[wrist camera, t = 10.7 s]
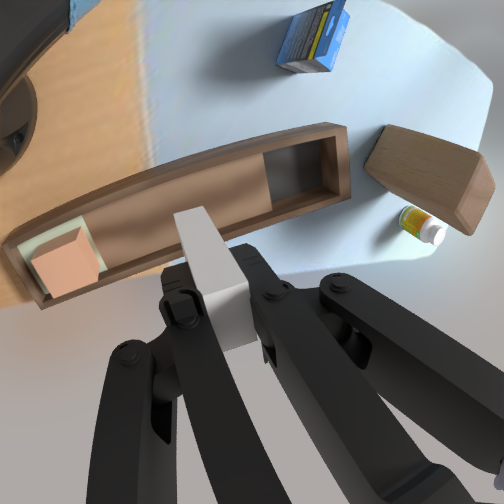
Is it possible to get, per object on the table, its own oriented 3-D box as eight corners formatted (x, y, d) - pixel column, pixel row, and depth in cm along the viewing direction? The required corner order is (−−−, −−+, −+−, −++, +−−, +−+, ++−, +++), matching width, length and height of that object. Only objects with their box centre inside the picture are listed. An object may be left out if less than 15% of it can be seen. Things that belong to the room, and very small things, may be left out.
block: (389, 192, 52) (472, 240, 35) (359, 168, 46) (454, 215, 30) (412, 150, 49) (498, 186, 33) (385, 121, 44) (483, 151, 27)
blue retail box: (298, 75, 35) (353, 73, 25) (273, 64, 34) (325, 57, 24) (316, 25, 32) (373, 12, 22) (293, 13, 30) (347, -6, 20)
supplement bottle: (394, 220, 56) (428, 242, 48) (408, 200, 54) (443, 219, 47) (404, 232, 59) (436, 253, 51) (417, 212, 57) (450, 232, 50)
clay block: (38, 245, 31) (30, 260, 28) (81, 225, 32) (75, 240, 29) (59, 281, 34) (53, 298, 31) (100, 264, 36) (97, 281, 33)
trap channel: (13, 229, 31) (1, 245, 27) (326, 121, 40) (346, 126, 36) (47, 289, 37) (41, 310, 33) (332, 187, 46) (350, 198, 42)
